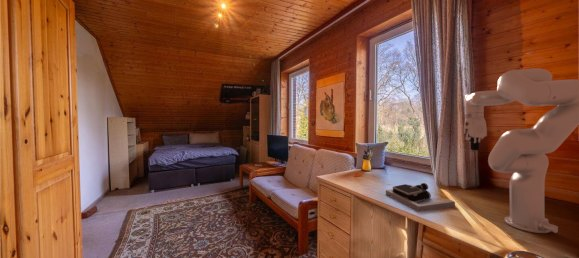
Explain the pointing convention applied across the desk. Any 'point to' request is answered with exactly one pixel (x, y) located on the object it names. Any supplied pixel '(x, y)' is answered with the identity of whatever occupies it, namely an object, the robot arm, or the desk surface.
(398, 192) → the film camera
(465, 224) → the desk surface
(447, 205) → the stand
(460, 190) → the desk surface
